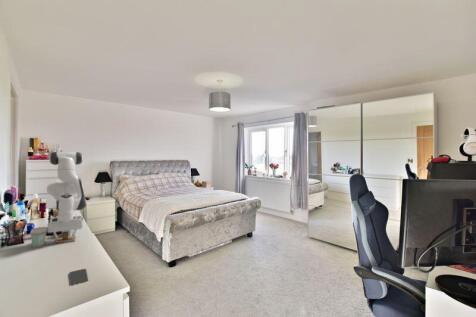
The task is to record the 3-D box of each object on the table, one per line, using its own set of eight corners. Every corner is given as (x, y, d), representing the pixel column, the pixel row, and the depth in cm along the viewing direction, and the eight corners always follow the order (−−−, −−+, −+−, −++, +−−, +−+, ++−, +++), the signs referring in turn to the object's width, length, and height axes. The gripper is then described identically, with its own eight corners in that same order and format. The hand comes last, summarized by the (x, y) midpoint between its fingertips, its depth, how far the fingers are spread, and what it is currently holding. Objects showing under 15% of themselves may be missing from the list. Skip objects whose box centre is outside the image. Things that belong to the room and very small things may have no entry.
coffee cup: (36, 249, 144) (37, 230, 144) (26, 248, 146) (26, 229, 146) (49, 244, 152) (50, 227, 153) (39, 243, 154) (40, 226, 154)
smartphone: (69, 285, 102) (68, 272, 114) (69, 287, 102) (68, 273, 114) (88, 280, 107) (86, 268, 118) (88, 282, 107) (86, 269, 118)
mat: (55, 239, 163) (55, 239, 163) (75, 236, 169) (75, 236, 169) (53, 245, 151) (53, 245, 151) (75, 242, 158) (75, 241, 158)
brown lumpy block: (48, 237, 167) (49, 210, 168) (40, 233, 175) (41, 208, 176) (71, 232, 180) (72, 207, 181) (63, 229, 188) (64, 205, 188)
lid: (56, 239, 162) (56, 231, 162) (74, 237, 168) (75, 229, 168) (54, 244, 153) (54, 235, 153) (74, 241, 159) (74, 232, 159)
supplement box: (77, 233, 178) (78, 217, 178) (70, 236, 170) (70, 219, 171) (69, 233, 179) (69, 217, 179) (61, 235, 171) (61, 219, 172)
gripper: (83, 214, 169) (82, 233, 169) (48, 218, 158) (47, 237, 157) (83, 216, 164) (82, 235, 164) (47, 220, 152) (46, 240, 152)
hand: (65, 236), depth 160 cm, fingers open, 8 cm apart
